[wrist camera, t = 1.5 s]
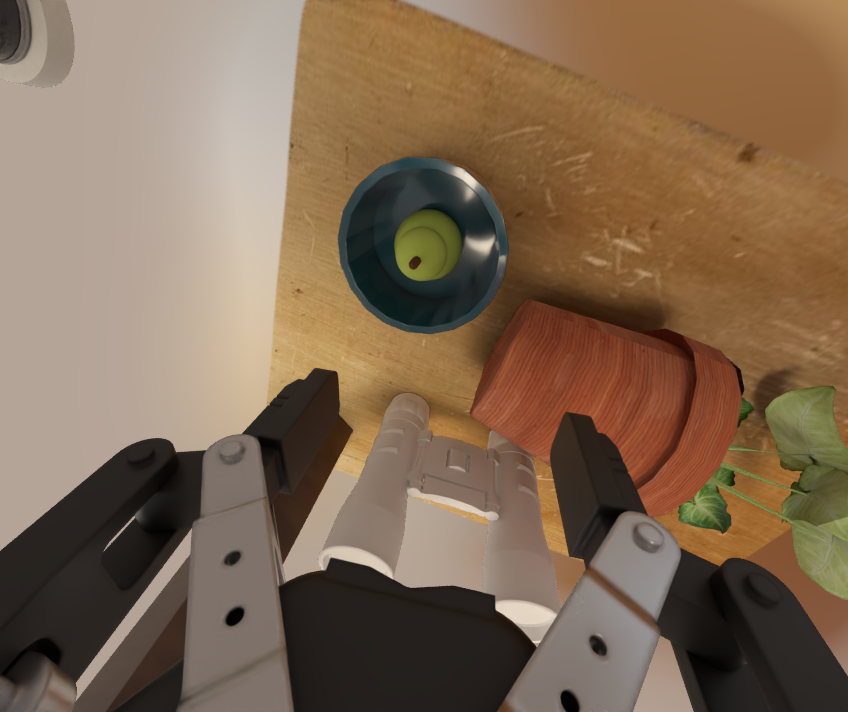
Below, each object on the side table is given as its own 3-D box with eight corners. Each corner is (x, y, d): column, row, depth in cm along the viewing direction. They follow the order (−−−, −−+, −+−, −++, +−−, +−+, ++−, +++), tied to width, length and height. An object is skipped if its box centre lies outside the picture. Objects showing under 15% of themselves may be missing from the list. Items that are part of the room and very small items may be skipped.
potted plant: (467, 378, 37) (767, 518, 36) (441, 479, 24) (923, 711, 22) (540, 242, 30) (920, 410, 28) (563, 274, 16) (1292, 599, 15)
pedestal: (297, 415, 42) (41, 744, 18) (326, 400, 40) (79, 749, 16) (324, 443, 44) (122, 779, 20) (353, 430, 42) (166, 787, 18)
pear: (391, 229, 28) (355, 252, 21) (442, 191, 26) (422, 201, 19) (425, 281, 30) (403, 319, 23) (476, 249, 28) (470, 279, 20)
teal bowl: (343, 216, 29) (305, 230, 23) (456, 123, 25) (445, 109, 19) (418, 322, 33) (402, 357, 27) (529, 259, 28) (539, 284, 22)
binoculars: (542, 427, 37) (579, 618, 21) (523, 460, 39) (544, 651, 24) (391, 383, 37) (319, 537, 22) (383, 419, 40) (315, 578, 25)
